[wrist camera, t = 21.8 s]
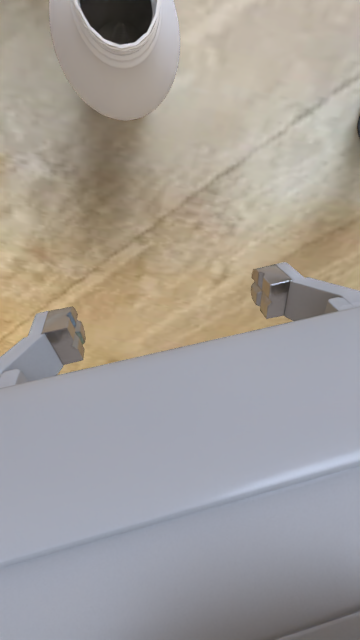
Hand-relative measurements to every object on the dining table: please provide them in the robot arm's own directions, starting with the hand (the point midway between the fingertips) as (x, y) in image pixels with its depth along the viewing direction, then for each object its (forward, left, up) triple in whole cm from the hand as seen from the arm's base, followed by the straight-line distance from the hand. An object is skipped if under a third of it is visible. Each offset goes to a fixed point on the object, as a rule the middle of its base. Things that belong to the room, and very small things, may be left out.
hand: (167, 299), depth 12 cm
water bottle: (0, +10, -29) cm, 30 cm away
